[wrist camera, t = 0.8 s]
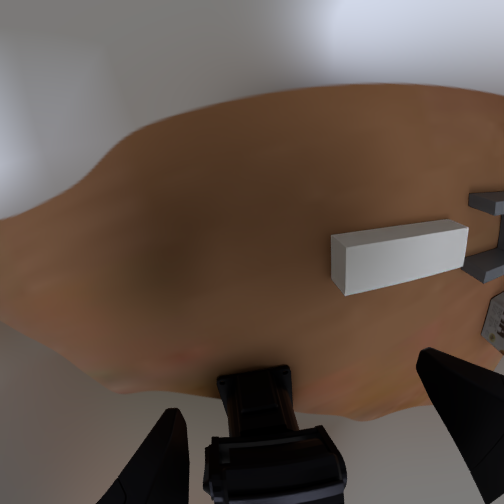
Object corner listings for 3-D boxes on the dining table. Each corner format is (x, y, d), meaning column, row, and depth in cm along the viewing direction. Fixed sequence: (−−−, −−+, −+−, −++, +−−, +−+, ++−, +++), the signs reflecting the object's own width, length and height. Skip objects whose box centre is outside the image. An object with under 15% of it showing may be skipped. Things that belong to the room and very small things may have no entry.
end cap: (501, 255, 23) (521, 266, 20) (461, 269, 22) (483, 283, 19) (509, 191, 20) (531, 198, 17) (469, 193, 20) (495, 202, 16)
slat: (442, 254, 22) (463, 266, 19) (329, 277, 21) (344, 296, 18) (446, 218, 21) (468, 227, 18) (329, 233, 20) (346, 247, 17)
